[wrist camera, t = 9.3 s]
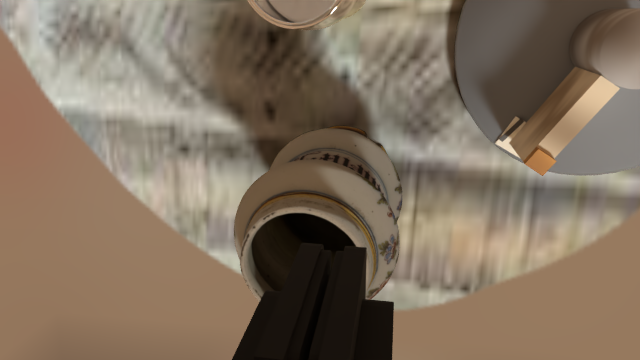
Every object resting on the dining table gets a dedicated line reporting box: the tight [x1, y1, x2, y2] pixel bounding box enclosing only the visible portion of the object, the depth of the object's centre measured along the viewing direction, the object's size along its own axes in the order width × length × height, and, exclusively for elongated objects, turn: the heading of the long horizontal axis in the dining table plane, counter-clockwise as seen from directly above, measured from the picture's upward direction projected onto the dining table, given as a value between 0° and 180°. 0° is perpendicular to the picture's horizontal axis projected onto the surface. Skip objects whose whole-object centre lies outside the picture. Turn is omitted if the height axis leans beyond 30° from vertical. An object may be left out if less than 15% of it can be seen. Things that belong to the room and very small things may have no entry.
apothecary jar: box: [234, 126, 402, 302], centre depth 35 cm, size 12×12×18 cm
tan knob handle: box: [509, 8, 640, 176], centre depth 32 cm, size 12×5×6 cm, turn 148°
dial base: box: [454, 0, 640, 175], centre depth 34 cm, size 22×22×2 cm
